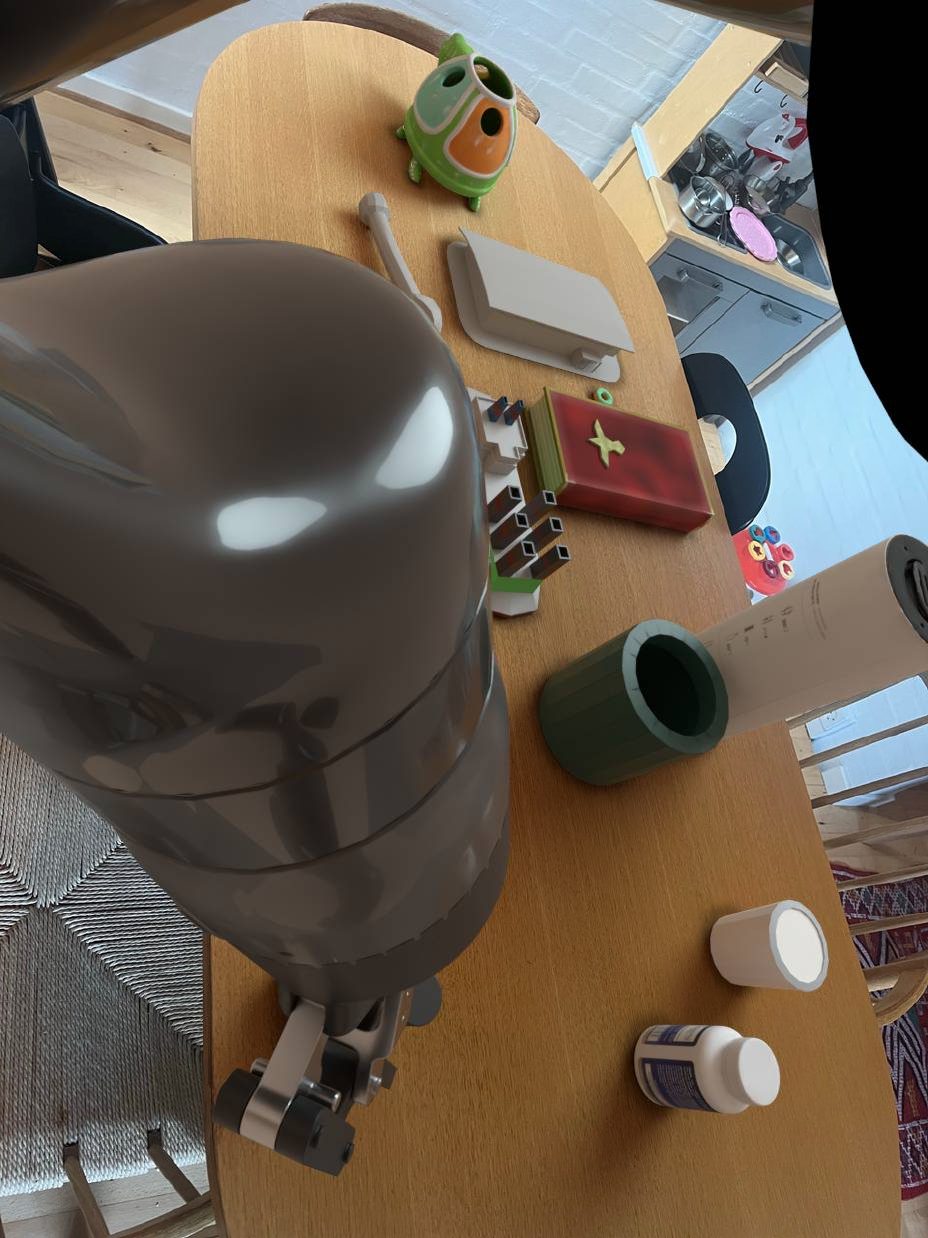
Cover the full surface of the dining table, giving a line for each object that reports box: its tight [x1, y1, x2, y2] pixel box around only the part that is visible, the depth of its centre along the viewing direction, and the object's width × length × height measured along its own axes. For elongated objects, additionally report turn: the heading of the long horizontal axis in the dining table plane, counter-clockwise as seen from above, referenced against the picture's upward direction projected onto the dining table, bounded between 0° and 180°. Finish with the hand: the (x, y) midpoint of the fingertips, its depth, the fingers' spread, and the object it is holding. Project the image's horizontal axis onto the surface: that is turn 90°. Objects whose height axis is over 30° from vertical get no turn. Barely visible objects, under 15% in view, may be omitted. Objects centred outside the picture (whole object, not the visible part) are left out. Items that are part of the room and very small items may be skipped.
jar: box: [539, 618, 729, 787], centre depth 65 cm, size 11×11×11 cm
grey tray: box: [446, 226, 636, 384], centre depth 89 cm, size 15×23×4 cm, turn 101°
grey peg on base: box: [285, 974, 443, 1028], centre depth 43 cm, size 4×4×14 cm
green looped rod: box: [592, 387, 614, 406], centre depth 91 cm, size 2×10×1 cm, turn 79°
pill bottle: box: [633, 1024, 781, 1115], centre depth 55 cm, size 5×5×10 cm
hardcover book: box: [523, 385, 715, 533], centre depth 84 cm, size 12×21×4 cm, turn 98°
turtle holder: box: [396, 32, 519, 212], centre depth 89 cm, size 12×18×12 cm
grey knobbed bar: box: [357, 191, 443, 333], centre depth 78 cm, size 18×5×4 cm, turn 18°
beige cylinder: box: [693, 532, 928, 742], centre depth 67 cm, size 11×10×26 cm
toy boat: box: [466, 385, 572, 619], centre depth 71 cm, size 8×25×8 cm, turn 12°
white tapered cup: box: [709, 899, 830, 993], centre depth 65 cm, size 7×7×7 cm
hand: (412, 947), depth 30 cm, fingers open, 8 cm apart
